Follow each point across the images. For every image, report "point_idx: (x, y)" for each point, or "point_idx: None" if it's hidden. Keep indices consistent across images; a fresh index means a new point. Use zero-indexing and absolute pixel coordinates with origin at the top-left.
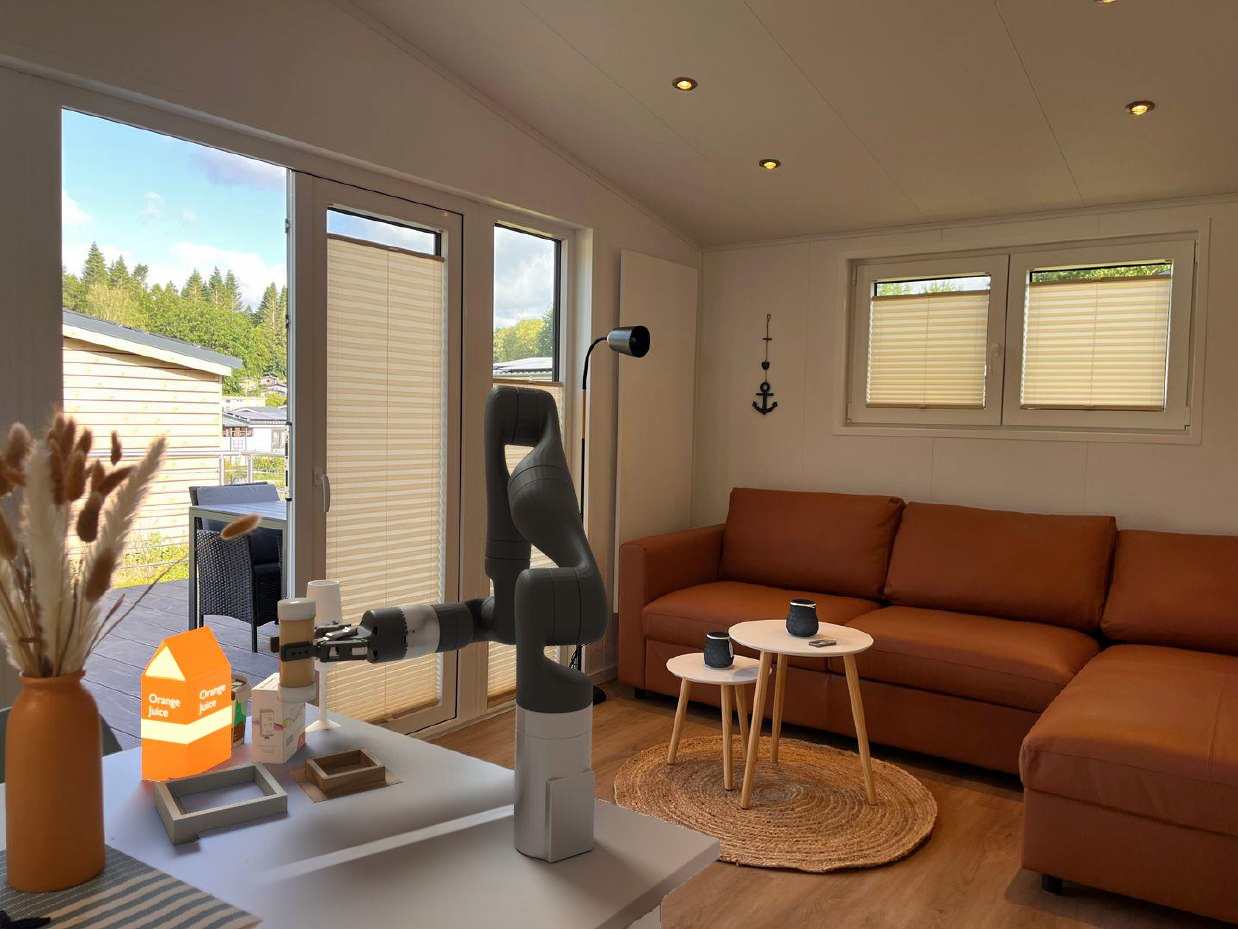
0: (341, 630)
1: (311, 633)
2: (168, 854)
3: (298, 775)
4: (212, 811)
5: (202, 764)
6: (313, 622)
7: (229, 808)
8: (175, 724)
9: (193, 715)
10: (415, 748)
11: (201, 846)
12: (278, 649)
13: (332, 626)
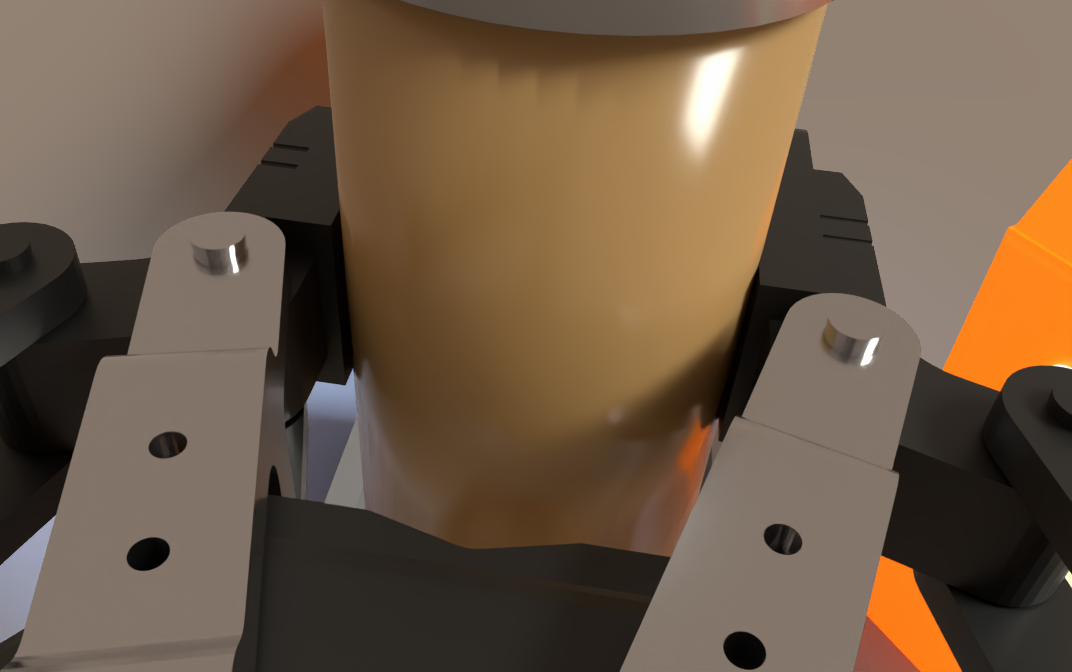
0: (228, 594)
1: (357, 190)
2: (338, 403)
3: None
4: (344, 452)
5: (930, 622)
6: (375, 70)
7: (326, 499)
8: None
9: None
10: None
11: (310, 471)
12: None
13: (707, 621)
